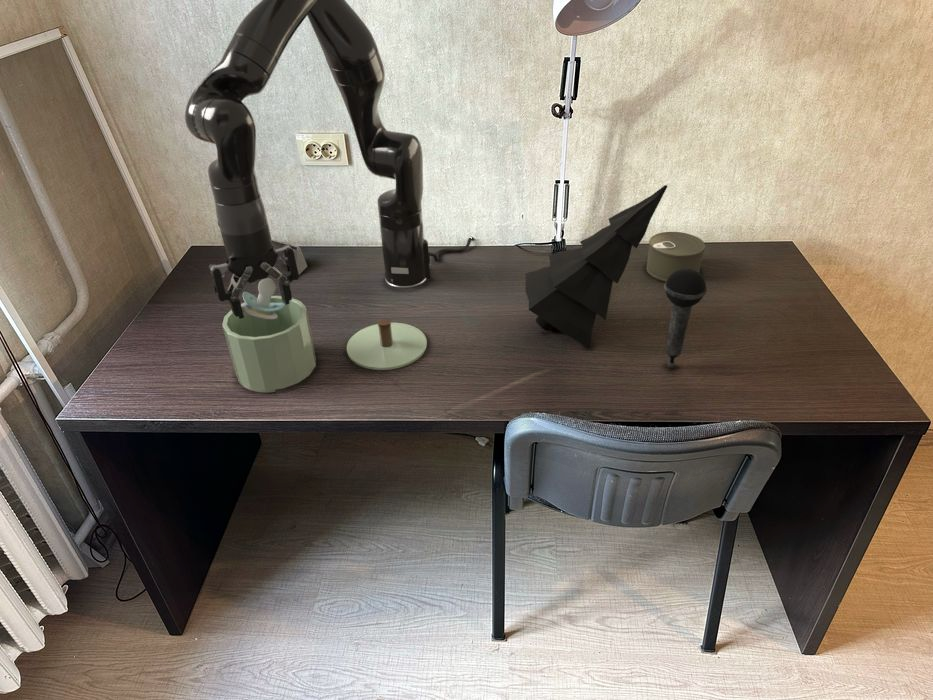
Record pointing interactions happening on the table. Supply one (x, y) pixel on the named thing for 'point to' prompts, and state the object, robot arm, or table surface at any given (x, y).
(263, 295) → the pacifier
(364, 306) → the table surface
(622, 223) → the decorative tree
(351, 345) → the lid
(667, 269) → the can
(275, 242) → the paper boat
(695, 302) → the microphone
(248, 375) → the crock
